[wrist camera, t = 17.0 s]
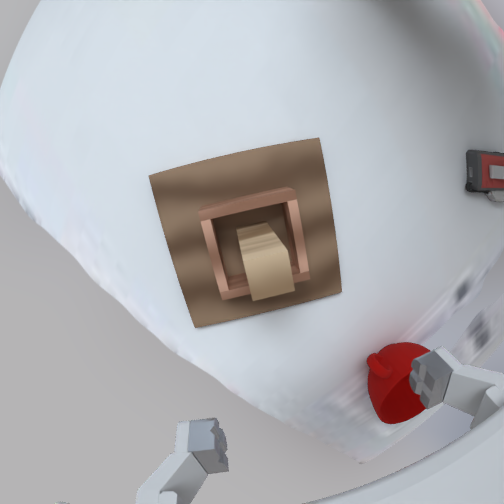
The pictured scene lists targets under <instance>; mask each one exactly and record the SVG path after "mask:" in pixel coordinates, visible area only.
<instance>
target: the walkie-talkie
mask: <svg viewBox="0 0 504 504" xmlns="http://www.w3.org/2000/svg"><path fill="white" fill-rule="evenodd" d="M466 161H467V183H466V190H467V191H468V192H484V193H485V195H487V197H488V198H489V199H490V200H492V201H495V202H504V153H500V152H486V151H479V150H468V151H467V153H466ZM470 189H472V190H470Z"/></svg>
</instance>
